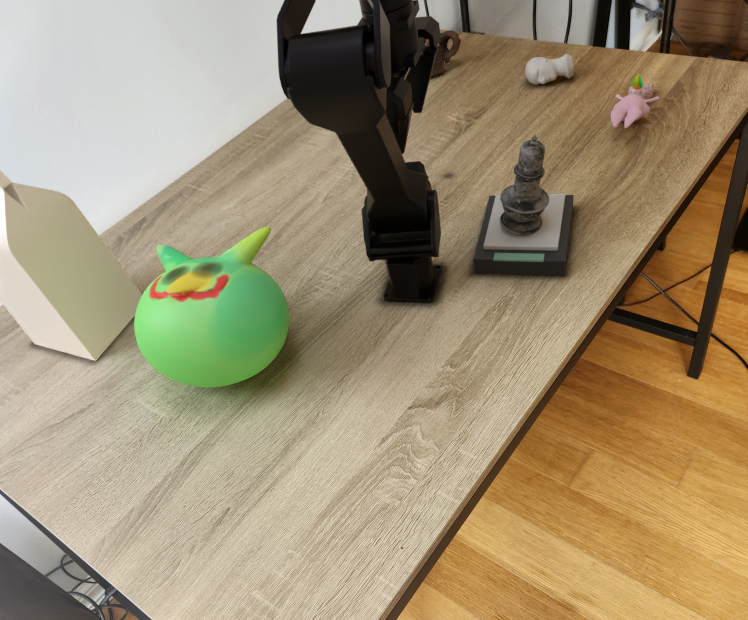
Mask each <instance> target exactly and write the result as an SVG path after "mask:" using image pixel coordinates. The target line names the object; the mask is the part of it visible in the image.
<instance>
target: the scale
mask: <svg viewBox="0 0 748 620" xmlns="http://www.w3.org/2000/svg"><path fill="white" fill-rule="evenodd" d="M547 194H548V196H549V203H548V206H547V207H546V208H545V209H544V211H543V212H542V214H541V215H540V216H541V218H542V226H541V228H540V229H539V230H538V231H536V232H534V233H532V234H528V235H517V234H513V233H510V232H508V231H507V230H505V229H504V228H503V227H502V226H501V224H500V217H501V215H502V213H504V212H505V211H504V209H503V206H502V202H501V200H500V197H501V193H500V194H499V193H498V194H493V195H492V194H490V195H489V196H488V200H487V204H486V207H485V212H484V215H483V219H482V223H481V228H480V232H479V235H478V239H477V243H476V247H475V250H474V254H473V255H474V256H473V267H474V274H481V275H482V274H483V275H486V274H487V275H488V274H489V275H515V276H516V275H521V276H550V277H552V276H553V277H565V275H566V269H567V261H568V253H569V244H570V238H571V237H570V236H571V229H572V221H573V214H574V199H575V197H574V196H575V195H574V194H566V193H547Z"/></svg>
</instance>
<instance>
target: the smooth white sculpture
mask: <svg viewBox="0 0 748 620" xmlns="http://www.w3.org/2000/svg"><path fill="white" fill-rule="evenodd" d="M573 61H574V60H573V55H571V54H569V53H565V54H564V55H562V56H561V57H557V58H547V57H543V56H535V57H532V58H531V59H529V60H528V61H527V62H526V65H525V68H524V69H525V70H524V74H525V77H526V80H527V81H528V82H529V83H530V84H532V85H534V86H538V85H540V84H541V85H545V84H547V83H550V82H554V81H555V80H557V78H558V77H564V78H566V79H568V80H570V79H571V78H572V77H574V73H575V72H574V63H573Z"/></svg>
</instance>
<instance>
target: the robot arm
mask: <svg viewBox="0 0 748 620" xmlns="http://www.w3.org/2000/svg"><path fill="white" fill-rule="evenodd" d="M316 1H317V0H283V3H282V5H281V7H280V9H279V11H278V13H277V16H276V44H277V67H278V77H279V78H278V79H279V82H280V87H281V89H282V92H283V95H284V96H285V98H286V99H287V100H290V102H291V104H292V106H293V107H294V109H296V111H297V112H298V113H299V114H300V115H301V116H302V117H303V118H304V120H305V121H306V122H307V123H309V124H310V125H311V126H315V127H318V128H321V129H323V130H326V131H330V132H333V133H335V134H336V136H337V138H338V140H339V142H340V144H341V145H342V148H344V150H345V152H346V154H347V156H348V157H349V160H350V161H351V163H352V165H353V166H354V168H355V171H356V172H357V174H358V175H359V178H360V179H361V181H362V182H363V185H364V186H365V188H366V195H365V196H364V202H363V207H362V208H361V219H362V232H363V233H362V234H363V241H364V246H365V255H366V257H367V258H368V261H369V262H375V261H384V262H385V267H386V271H387V275H388V281H387V283H386V287H385V290H384V293H383V296H382V297H383V300H384V301H386V302H401V303H402V302H403V303H404V302H407V303H425V304H426V303H427V304H431V303H433V302H434V301H435V298H436V294H437V290H438V287H439V283H440V279H441V276H442V274H443V265H441V264H433V263H434V262H433V259H432V257H433V258H439V255H440V246H441V237H442V229H441V217H440V205H439V197H438V192H437V189H433V187H432V184H431V182H430V180H429V175H428V174H427V171H426V167H425V164H424V163H422V161H420V160H415V161H406V160H405V159H404V154H405V151H406V147H407V142H408V136H409V130H410V125H411V120H412V115H413V113H414V114H422V112H423V109H424V106H425V102H426V97H427V93H428V90H429V85H430V82H431V79H432V76H431V74H432V70H433V66H434V62H435V58H436V55H437V51H438V46H439V41H440V39H441V35H440V33H441V29H440V28H441V27H440V22H439V21H437V20H436V19H435V18H433V16H432V15H427V16H418V14H419V12H420V9H421V8H420V3H419V2H420V1H419V0H358V2H359V7H360V10H361V18H360V20H359V21H358V23H357V24H356V25H349V26H344V27H337V28H330V29H324V30H317V31H311V32H305V33H302V32H303V30H304V28H305V26H306V23H307V21H308V19H309V17H310V15H311V12H312V11H313V8H314V5H315V4H316ZM426 39H429V45H427V42H426Z"/></svg>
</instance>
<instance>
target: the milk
mask: <svg viewBox="0 0 748 620" xmlns="http://www.w3.org/2000/svg"><path fill="white" fill-rule="evenodd" d="M142 295H143V293H142V292H141V291H140V289H138V287H137V286H136V284H135V283H134V281H133V280H132V279H131V278H130V276H129V275H128V273H127V272H126V270H125V269H124V268H123V267H122V265H121V264H120V262H119V261H118V259H117V258H116V257H115V255H114V254H113V253H112V252H111V250H110V249H109V248H108V246H107V245H106V243H105V242H104V241H103V239H102V238H101V237H100V235H99V234H98V232H97V231H96V230H95V228H94V227H93V226H92V224H91V223H90V221H89V220H88V219H87V218H86V216H85V214H84V213H83V212H82V211H81V209H80V208H79V206H78V205H77V204H76V202H75V201H74V200H73V199H72V198H71V197H70V196H69V195H67V194H65V193H63V192H60V191H57V190H53V189H48V188H43V187H39V186H32V185H28V184H23V183H22V184H21V183H17V182H12V180H11V179H10V178H9V177H8V176H7V175H6V174H5V173H4V172H3V171H2V170H1V169H0V303H1V304H2V306H4V308H5V309H6V310H7V311H8V312H9V314H10V315H11V317H12V318H13V319H14V320H15V322H16V323H17V324H18V326H20V328H21V329H22V330H23V332H24V333H25V334H26V335H27V337H28V338H29V339H30V340H31V342H33V344H34V345H36V346H40V347H43V348H47V349H51V350H54V351H58V352H60V353H61V352H62V353H65V354H69V355H73V356H76V357H79V358H83V359H86V360H91V361H94V362H96V361H97V360H98V359H99V358H100V357H101V356H102V355H103V353H104V352H105V351H106V350H107V349H108V348H109V346H110V345H111V344H112V343H113V342H114V341H115V340H116V338H117V337H118V336H119V335H120V334H121V333H122V331H123V330H124V329H125V328H126V327H127V325H128V324H130V322H131V321H132V320H133V319H134V318H135V313H136V309H137V306H138V303H139V300H140V298H141V296H142Z"/></svg>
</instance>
